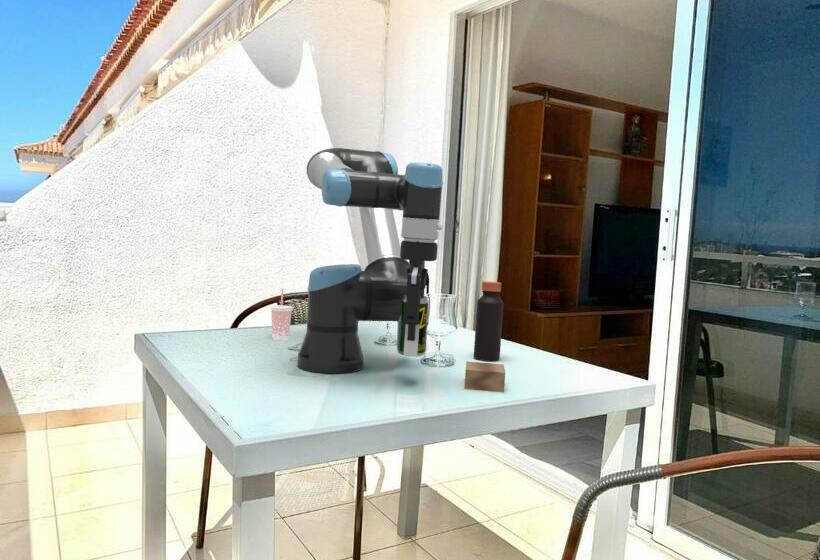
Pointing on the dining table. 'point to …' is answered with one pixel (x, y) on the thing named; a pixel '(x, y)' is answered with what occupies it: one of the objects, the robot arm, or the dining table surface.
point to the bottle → (489, 323)
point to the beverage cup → (281, 320)
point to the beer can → (422, 325)
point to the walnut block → (484, 376)
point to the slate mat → (481, 390)
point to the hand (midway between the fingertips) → (412, 352)
